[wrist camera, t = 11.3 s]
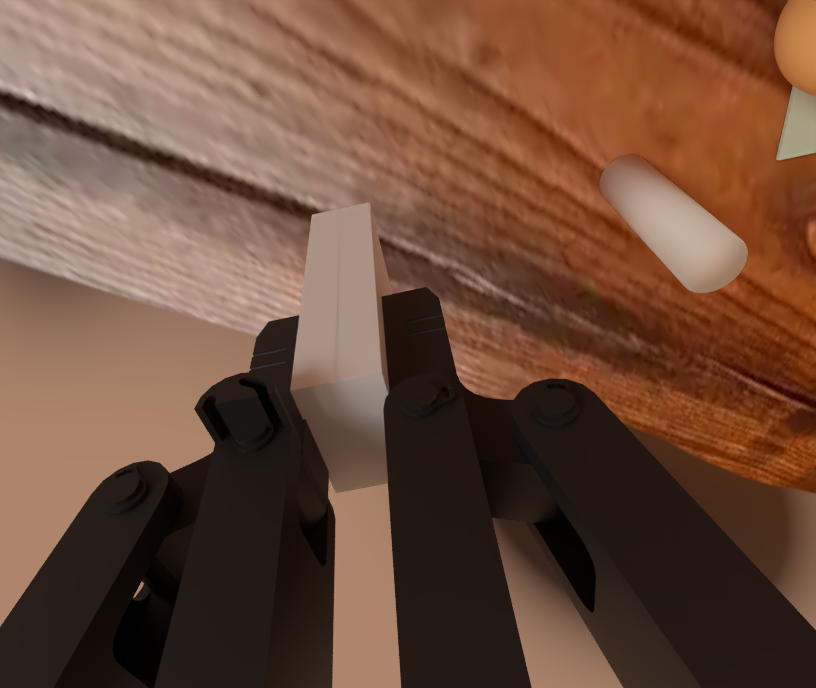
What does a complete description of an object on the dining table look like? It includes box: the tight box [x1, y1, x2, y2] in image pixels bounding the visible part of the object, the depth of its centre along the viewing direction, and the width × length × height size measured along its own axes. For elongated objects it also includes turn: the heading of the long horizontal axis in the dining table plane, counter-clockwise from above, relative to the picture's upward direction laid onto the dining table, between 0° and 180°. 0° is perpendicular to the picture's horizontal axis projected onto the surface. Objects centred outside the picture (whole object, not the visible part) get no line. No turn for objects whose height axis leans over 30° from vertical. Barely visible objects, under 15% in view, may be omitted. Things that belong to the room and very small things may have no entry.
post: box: [599, 154, 748, 293], centre depth 25 cm, size 3×3×9 cm
